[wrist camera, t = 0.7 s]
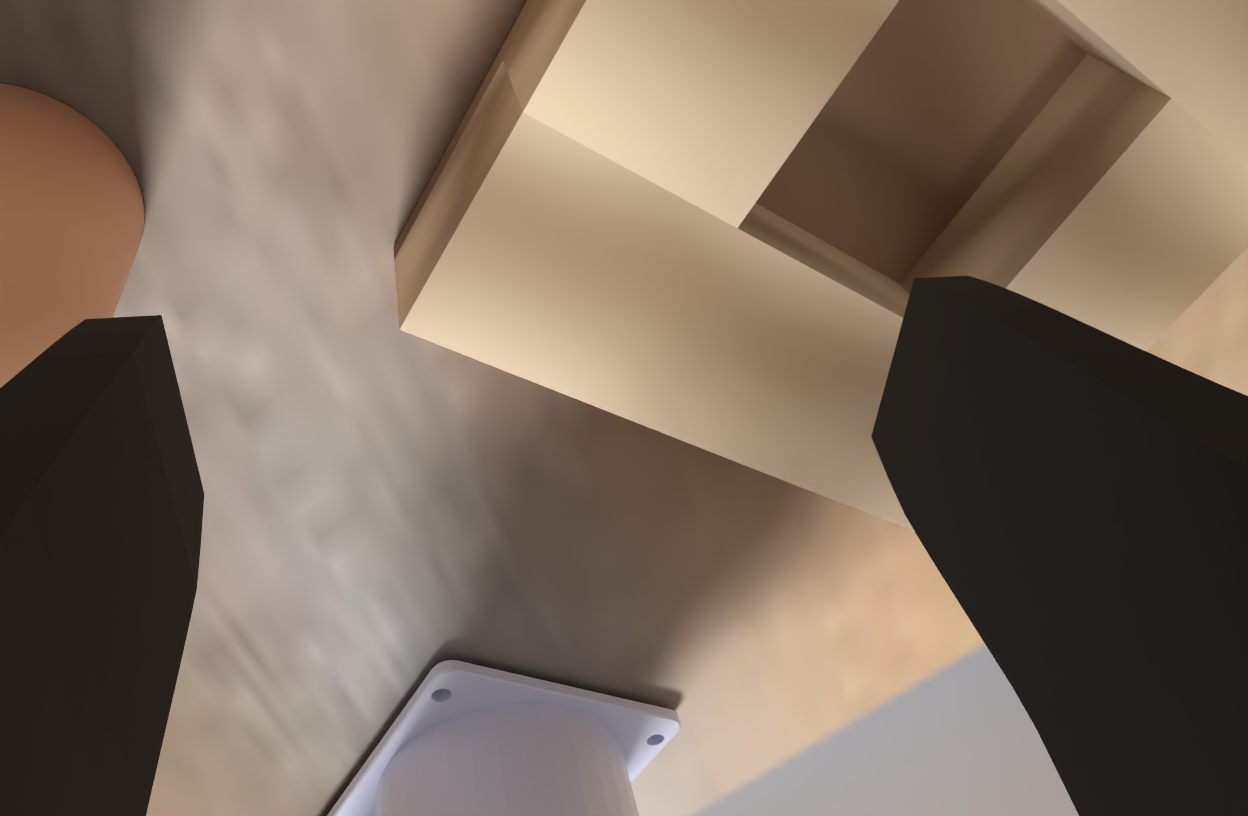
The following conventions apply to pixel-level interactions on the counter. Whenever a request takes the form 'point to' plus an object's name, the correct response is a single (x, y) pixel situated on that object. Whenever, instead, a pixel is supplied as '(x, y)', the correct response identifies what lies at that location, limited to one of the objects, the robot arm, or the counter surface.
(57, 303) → the terracotta peg
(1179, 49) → the oak socket block
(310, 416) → the counter surface
